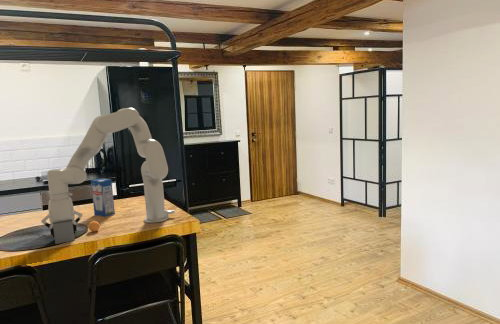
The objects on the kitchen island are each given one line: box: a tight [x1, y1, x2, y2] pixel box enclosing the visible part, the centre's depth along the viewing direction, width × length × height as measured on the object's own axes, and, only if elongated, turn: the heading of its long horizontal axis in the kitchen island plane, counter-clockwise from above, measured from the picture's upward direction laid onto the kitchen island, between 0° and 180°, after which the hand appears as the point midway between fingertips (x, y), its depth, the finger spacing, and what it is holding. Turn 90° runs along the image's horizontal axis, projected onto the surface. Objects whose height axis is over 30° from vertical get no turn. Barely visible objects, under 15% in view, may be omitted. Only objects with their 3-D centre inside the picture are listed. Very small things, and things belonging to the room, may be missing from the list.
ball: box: [88, 220, 101, 233], centre depth 175 cm, size 5×5×5 cm
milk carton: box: [90, 178, 116, 218], centre depth 205 cm, size 10×6×20 cm, turn 57°
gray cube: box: [53, 220, 76, 245], centre depth 164 cm, size 8×8×9 cm
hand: (64, 234), depth 164 cm, fingers closed on gray cube, 7 cm apart
